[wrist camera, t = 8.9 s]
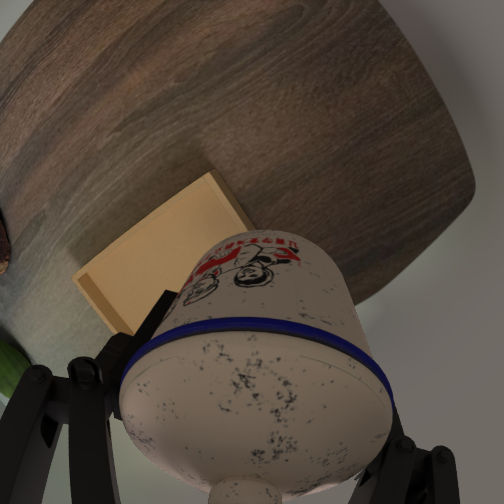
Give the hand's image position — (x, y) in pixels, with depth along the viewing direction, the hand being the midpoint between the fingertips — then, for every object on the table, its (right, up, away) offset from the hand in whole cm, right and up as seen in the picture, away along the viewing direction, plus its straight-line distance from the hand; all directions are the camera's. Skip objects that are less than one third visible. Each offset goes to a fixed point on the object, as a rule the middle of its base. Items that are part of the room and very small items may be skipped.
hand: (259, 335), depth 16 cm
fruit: (-49, -17, +34) cm, 62 cm away
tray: (-9, +1, +22) cm, 24 cm away
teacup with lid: (-1, +1, +2) cm, 2 cm away
